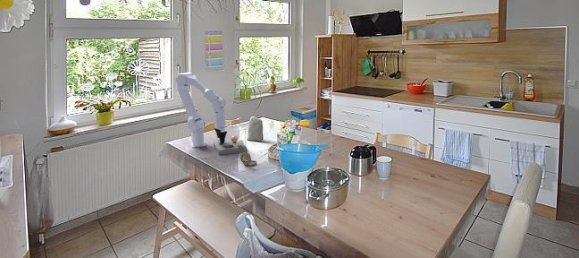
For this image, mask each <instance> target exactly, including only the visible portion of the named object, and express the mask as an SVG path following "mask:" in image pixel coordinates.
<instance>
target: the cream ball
mask: <svg viewBox="0 0 579 258" xmlns="http://www.w3.org/2000/svg"><path fill="white" fill-rule="evenodd" d="M236 144H237V145H238V146H242V145H243V144H244V141H243V140H242V139H240V138H238V140H237V142H236Z"/></svg>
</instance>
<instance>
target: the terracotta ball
mask: <svg viewBox="0 0 579 258" xmlns="http://www.w3.org/2000/svg"><path fill="white" fill-rule="evenodd" d="M230 139H231V140H230V141H232V142H237V140H239V137H238V136H237V135H232V136H231V137H230Z"/></svg>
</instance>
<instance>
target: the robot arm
mask: <svg viewBox="0 0 579 258" xmlns="http://www.w3.org/2000/svg"><path fill="white" fill-rule="evenodd" d="M175 81H176V84H177V92H178V94H179V96H180V99H181V100H182V104H183V106H184V109H185V111H186V113H187V116H188V118H187V125H188V126H187V128H188V129H189V131H190V133H191V142H190V146H191V147H192V148H200V147H207V144H206V143H205V135H204V130H205V127H206V121H205V120H204V118H203V117H202V115H200V114H198V112H197V108H196V106H195V103H194V101H193V99H192V97H191V94H190V92H189V88H190V86H193V87H194V88H195V89H197V90H199V91H200V92H201V93H202V94H203V95H202V96H203V98H205V99H206V100H207V101H208V102H209V103H210V104H211V107H212V108H213V112H214V128H213V129H214V131H215V134H216V137H217V139H218V138H219V139H220V143H224V142H225V141H226V136H227V134H228V131H225V129H226V128H228V125H226V120H225V119H226V116H225V106H226V100H225V98H224V97H222V96H219V95H218V94H217V93H216V92H214V90H213V89H210V88H209V89H208V87H206V86H205V85H204V84H203V83H202V82H201V81H200V80H199V79H198V78H197V75H196V74H194V73H193V72H192V71H188V72H184V73H183V72H181V73H178V74H177V76H176V78H175Z"/></svg>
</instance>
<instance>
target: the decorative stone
mask: <svg viewBox="0 0 579 258" xmlns="http://www.w3.org/2000/svg"><path fill="white" fill-rule="evenodd" d="M246 140H247V141H253V142H262V141H264V124H263V120H262V119H261V118H259V117H256V116H254V115H253V116H250V118H249V121H248V127H247V136H246Z"/></svg>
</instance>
